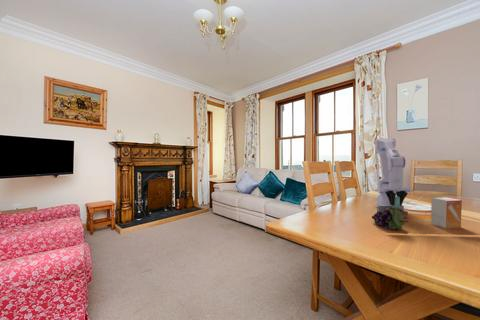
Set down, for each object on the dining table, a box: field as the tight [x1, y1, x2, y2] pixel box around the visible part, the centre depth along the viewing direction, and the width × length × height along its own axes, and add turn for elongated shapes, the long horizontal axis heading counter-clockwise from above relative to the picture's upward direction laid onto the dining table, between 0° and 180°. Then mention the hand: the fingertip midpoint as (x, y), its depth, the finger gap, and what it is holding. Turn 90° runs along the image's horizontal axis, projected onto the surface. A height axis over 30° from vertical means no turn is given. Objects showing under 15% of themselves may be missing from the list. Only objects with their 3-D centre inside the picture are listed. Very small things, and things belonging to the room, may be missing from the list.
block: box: [385, 208, 409, 219], centre depth 106 cm, size 7×7×3 cm
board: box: [376, 204, 405, 213], centre depth 102 cm, size 18×13×5 cm
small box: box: [430, 196, 463, 229], centre depth 91 cm, size 8×6×13 cm
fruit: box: [371, 208, 409, 231], centre depth 89 cm, size 10×10×15 cm
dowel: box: [392, 195, 400, 209], centre depth 106 cm, size 3×3×6 cm
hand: (395, 205), depth 106 cm, fingers closed on dowel, 3 cm apart
